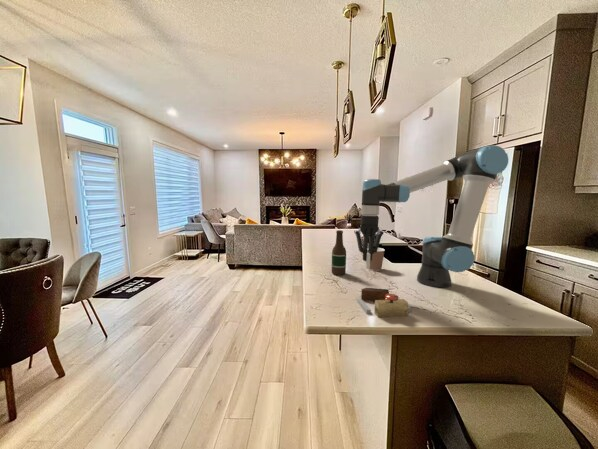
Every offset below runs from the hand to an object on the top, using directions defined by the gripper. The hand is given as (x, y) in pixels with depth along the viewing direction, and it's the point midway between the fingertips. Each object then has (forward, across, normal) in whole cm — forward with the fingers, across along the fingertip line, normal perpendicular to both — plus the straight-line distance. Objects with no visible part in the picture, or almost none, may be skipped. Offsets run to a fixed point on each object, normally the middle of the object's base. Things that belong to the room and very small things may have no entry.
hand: (366, 267), depth 111 cm
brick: (+11, 0, +10) cm, 15 cm away
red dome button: (+11, -1, +23) cm, 25 cm away
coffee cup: (+11, -19, -33) cm, 40 cm away
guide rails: (+11, -1, +17) cm, 20 cm away
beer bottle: (+11, +5, -26) cm, 29 cm away
